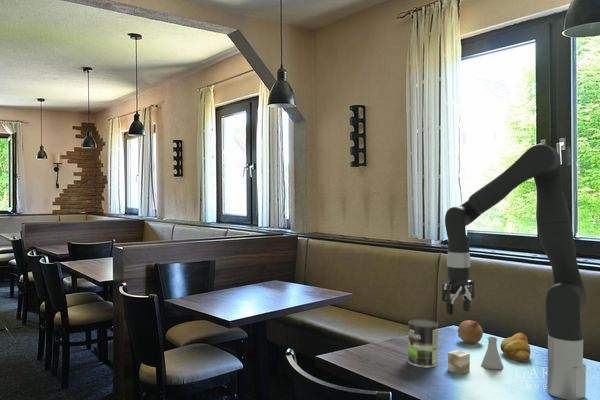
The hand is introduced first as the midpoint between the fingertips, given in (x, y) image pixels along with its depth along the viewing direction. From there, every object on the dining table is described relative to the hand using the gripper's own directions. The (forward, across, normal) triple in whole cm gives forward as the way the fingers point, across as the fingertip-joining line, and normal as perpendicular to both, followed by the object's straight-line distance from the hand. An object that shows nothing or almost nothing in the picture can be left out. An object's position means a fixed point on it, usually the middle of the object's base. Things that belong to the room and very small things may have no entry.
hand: (458, 312), depth 166 cm
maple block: (+19, -2, -1) cm, 19 cm away
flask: (+19, +12, -5) cm, 23 cm away
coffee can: (+19, -6, +11) cm, 23 cm away
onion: (+19, +28, +16) cm, 38 cm away
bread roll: (+19, +27, -4) cm, 34 cm away
